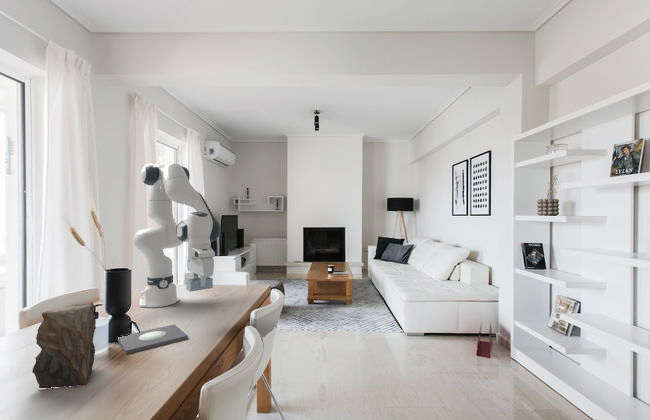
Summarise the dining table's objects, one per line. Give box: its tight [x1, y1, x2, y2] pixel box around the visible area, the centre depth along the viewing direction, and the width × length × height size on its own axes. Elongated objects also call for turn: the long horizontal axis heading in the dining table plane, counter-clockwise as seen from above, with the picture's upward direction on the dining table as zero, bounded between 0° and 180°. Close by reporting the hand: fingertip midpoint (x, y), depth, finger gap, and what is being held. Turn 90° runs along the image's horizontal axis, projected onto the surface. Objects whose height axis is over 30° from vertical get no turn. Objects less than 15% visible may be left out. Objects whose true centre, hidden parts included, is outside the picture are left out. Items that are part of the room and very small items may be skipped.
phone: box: [185, 277, 214, 293], centre depth 135 cm, size 5×9×4 cm, turn 131°
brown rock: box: [31, 302, 97, 389], centre depth 94 cm, size 13×13×20 cm
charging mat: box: [117, 324, 189, 355], centre depth 121 cm, size 16×20×1 cm
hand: (199, 284), depth 135 cm, fingers closed on phone, 5 cm apart
